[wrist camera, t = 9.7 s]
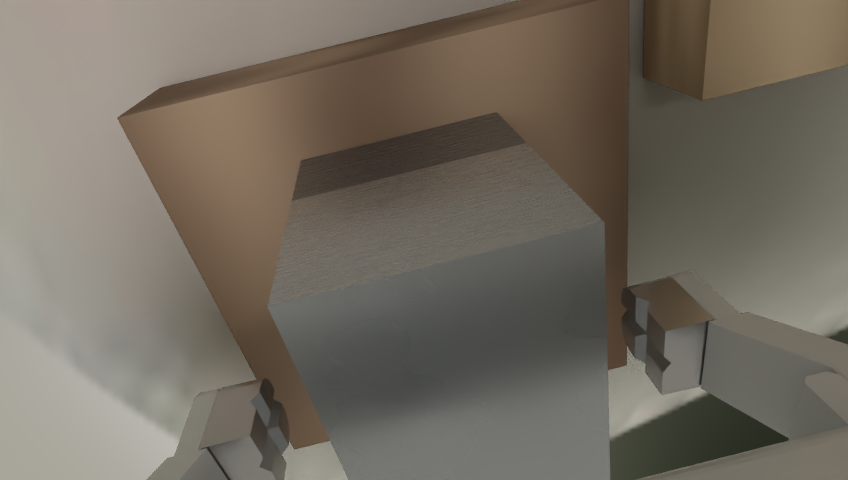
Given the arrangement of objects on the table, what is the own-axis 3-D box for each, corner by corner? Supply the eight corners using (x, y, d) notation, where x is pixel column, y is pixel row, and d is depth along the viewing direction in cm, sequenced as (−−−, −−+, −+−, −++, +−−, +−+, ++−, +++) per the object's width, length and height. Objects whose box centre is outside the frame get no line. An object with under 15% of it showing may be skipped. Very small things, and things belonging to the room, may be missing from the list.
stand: (576, -14, 14) (628, -7, 11) (590, 312, 20) (626, 365, 17) (160, 87, 14) (117, 118, 11) (301, 385, 20) (294, 449, 17)
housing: (496, 111, 12) (604, 222, 7) (527, 346, 16) (611, 525, 11) (301, 160, 12) (267, 306, 7) (380, 383, 16) (396, 581, 11)
